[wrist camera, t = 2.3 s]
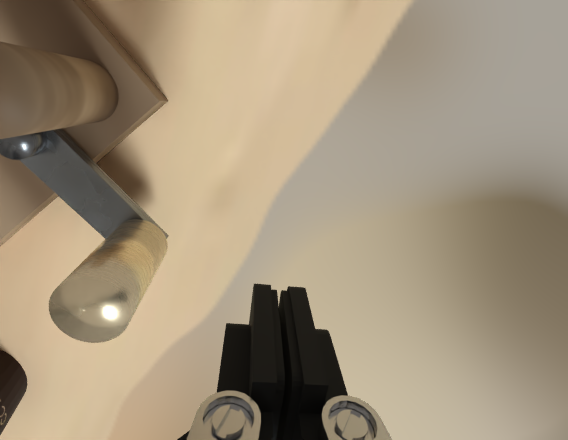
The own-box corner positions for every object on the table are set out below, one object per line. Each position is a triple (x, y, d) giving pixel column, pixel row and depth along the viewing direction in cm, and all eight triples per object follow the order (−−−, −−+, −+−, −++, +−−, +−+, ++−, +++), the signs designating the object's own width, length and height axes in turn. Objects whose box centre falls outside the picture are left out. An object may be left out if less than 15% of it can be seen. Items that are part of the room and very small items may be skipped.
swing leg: (181, 241, 20) (146, 314, 14) (144, 270, 21) (93, 354, 14) (42, 102, 17) (-93, 107, 10) (2, 139, 18) (-154, 167, 11)
